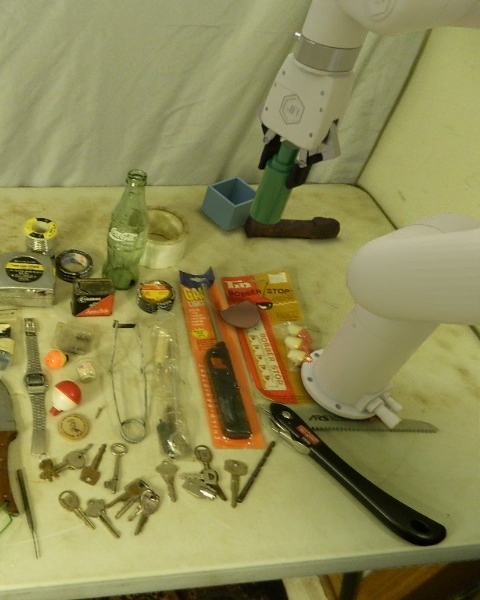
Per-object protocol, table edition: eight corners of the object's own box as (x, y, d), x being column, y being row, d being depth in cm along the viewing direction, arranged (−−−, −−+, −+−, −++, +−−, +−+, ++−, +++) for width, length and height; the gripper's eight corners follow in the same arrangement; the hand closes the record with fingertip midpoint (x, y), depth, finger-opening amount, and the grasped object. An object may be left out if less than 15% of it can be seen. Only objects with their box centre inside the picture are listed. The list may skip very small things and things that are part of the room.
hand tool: (246, 240, 106) (253, 221, 102) (242, 227, 108) (249, 209, 105) (339, 247, 106) (349, 229, 103) (333, 234, 109) (343, 216, 106)
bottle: (287, 219, 85) (316, 148, 76) (264, 227, 83) (292, 156, 74) (265, 202, 88) (291, 133, 79) (242, 210, 86) (266, 139, 77)
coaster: (267, 319, 91) (268, 318, 91) (237, 334, 88) (238, 332, 88) (239, 293, 95) (240, 292, 95) (210, 306, 92) (210, 305, 92)
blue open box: (254, 222, 110) (264, 196, 105) (225, 233, 106) (235, 207, 102) (228, 201, 114) (237, 175, 109) (200, 211, 111) (207, 185, 106)
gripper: (257, 34, 71) (223, 155, 84) (361, 84, 61) (304, 213, 74) (296, 27, 74) (258, 145, 87) (402, 74, 64) (340, 200, 77)
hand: (279, 175), depth 80 cm, fingers closed on bottle, 5 cm apart
